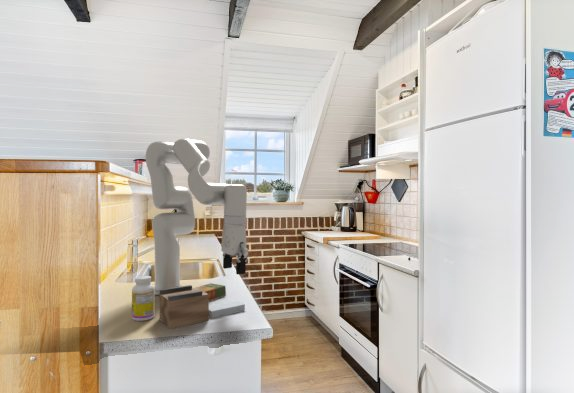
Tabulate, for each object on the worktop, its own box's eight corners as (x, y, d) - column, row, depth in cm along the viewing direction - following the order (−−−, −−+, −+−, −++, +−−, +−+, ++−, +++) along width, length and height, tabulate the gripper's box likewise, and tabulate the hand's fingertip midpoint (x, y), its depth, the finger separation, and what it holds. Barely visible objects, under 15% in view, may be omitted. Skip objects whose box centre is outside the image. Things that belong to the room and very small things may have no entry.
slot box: (159, 319, 111) (159, 289, 111) (196, 311, 118) (196, 283, 118) (169, 328, 103) (169, 297, 103) (208, 320, 110) (208, 290, 110)
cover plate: (203, 313, 117) (203, 306, 117) (235, 306, 124) (235, 299, 124) (211, 319, 112) (211, 311, 112) (244, 311, 119) (244, 304, 119)
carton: (178, 303, 128) (178, 291, 128) (210, 292, 142) (210, 282, 142) (194, 306, 124) (194, 294, 124) (226, 296, 137) (226, 284, 137)
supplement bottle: (136, 314, 115) (135, 275, 115) (157, 314, 115) (157, 274, 115) (128, 322, 108) (128, 280, 108) (151, 321, 109) (151, 279, 109)
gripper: (214, 219, 125) (213, 267, 126) (237, 223, 111) (235, 277, 112) (233, 218, 130) (232, 265, 130) (257, 222, 116) (256, 274, 116)
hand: (233, 270), depth 121 cm, fingers open, 9 cm apart
